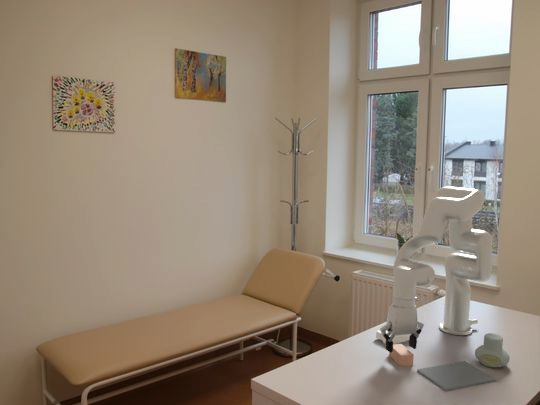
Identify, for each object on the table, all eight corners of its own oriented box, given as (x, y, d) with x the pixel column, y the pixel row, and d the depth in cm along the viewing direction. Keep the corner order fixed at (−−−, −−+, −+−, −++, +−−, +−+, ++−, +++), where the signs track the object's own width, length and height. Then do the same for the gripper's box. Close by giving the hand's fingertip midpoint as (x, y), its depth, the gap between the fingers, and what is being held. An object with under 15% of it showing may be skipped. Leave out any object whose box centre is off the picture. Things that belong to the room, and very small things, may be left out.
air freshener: (509, 363, 173) (512, 335, 171) (507, 372, 166) (510, 344, 164) (476, 355, 178) (478, 329, 177) (472, 364, 171) (474, 336, 170)
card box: (400, 354, 179) (401, 343, 178) (412, 365, 170) (413, 354, 170) (389, 355, 178) (389, 344, 177) (400, 366, 169) (401, 355, 169)
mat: (464, 362, 173) (464, 360, 173) (496, 380, 160) (496, 379, 160) (417, 371, 166) (417, 369, 166) (445, 391, 153) (446, 389, 153)
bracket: (399, 333, 199) (400, 315, 198) (413, 339, 193) (414, 320, 192) (376, 339, 192) (376, 321, 191) (389, 346, 186) (390, 327, 185)
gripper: (417, 296, 178) (414, 342, 180) (376, 300, 172) (373, 348, 174) (431, 302, 171) (428, 350, 173) (388, 307, 165) (386, 357, 167)
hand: (400, 349), depth 173 cm, fingers open, 9 cm apart
